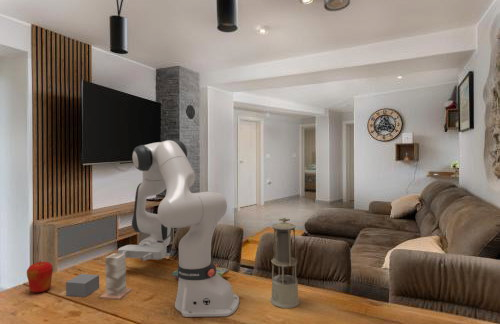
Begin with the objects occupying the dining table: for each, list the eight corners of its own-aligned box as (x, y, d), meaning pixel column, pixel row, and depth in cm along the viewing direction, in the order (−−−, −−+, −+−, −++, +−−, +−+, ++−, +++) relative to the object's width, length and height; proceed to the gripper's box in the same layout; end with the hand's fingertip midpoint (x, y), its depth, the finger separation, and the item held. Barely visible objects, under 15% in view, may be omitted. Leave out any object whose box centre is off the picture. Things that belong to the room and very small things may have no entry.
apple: (23, 291, 122) (22, 261, 121) (48, 284, 128) (47, 255, 128) (32, 297, 116) (31, 266, 116) (57, 289, 123) (56, 259, 123)
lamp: (269, 307, 108) (268, 220, 107) (272, 290, 121) (272, 213, 120) (299, 309, 106) (299, 221, 105) (299, 292, 119) (299, 213, 118)
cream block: (126, 290, 121) (125, 253, 120) (118, 295, 116) (117, 258, 115) (114, 289, 122) (113, 253, 121) (106, 294, 117) (105, 257, 116)
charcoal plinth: (99, 287, 125) (99, 275, 124) (85, 296, 117) (85, 283, 116) (81, 286, 126) (80, 273, 126) (66, 295, 118) (65, 282, 118)
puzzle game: (189, 260, 142) (228, 267, 133) (189, 271, 142) (228, 278, 134) (172, 269, 131) (214, 277, 123) (173, 281, 131) (214, 289, 123)
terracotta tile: (131, 290, 122) (131, 288, 122) (119, 299, 114) (119, 298, 114) (113, 288, 123) (113, 287, 123) (99, 298, 116) (99, 296, 116)
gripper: (127, 239, 145) (109, 249, 132) (169, 242, 142) (154, 252, 128) (127, 253, 145) (109, 264, 132) (169, 255, 142) (155, 267, 128)
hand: (132, 258), depth 130 cm, fingers open, 8 cm apart
